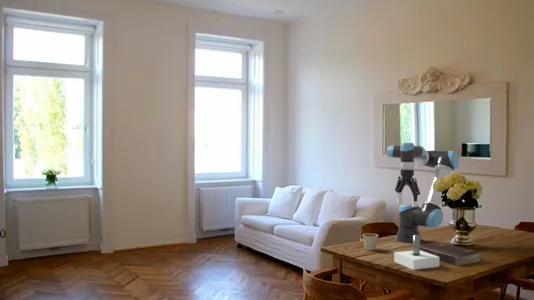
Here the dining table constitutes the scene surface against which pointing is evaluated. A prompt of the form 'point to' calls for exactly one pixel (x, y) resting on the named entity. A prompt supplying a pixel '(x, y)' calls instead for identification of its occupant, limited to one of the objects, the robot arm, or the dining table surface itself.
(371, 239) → the flower pot
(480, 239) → the dining table surface
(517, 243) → the dining table surface
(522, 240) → the dining table surface
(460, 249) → the hardback book
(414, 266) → the bore block
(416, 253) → the pin
